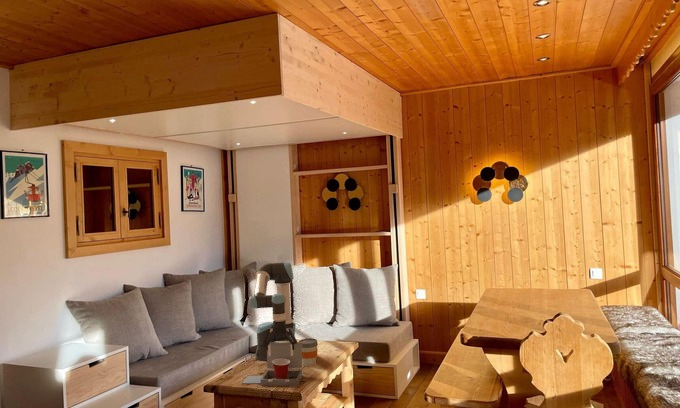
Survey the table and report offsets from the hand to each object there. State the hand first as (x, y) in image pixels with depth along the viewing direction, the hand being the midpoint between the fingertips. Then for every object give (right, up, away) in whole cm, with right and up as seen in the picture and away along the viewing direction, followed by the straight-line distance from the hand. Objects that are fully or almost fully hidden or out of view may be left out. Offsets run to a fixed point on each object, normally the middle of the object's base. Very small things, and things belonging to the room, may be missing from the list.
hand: (280, 355), depth 321 cm
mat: (-17, -16, +3) cm, 23 cm away
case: (+1, -15, +1) cm, 15 cm away
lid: (+1, -3, +9) cm, 9 cm away
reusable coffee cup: (+15, -14, +30) cm, 37 cm away
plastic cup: (+1, -15, +1) cm, 16 cm away
